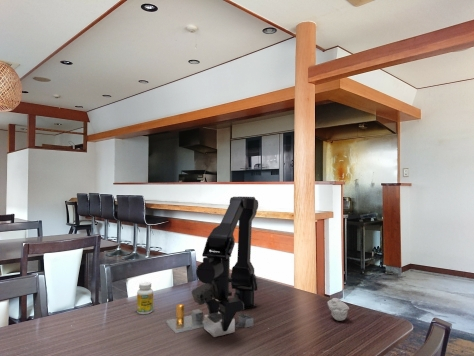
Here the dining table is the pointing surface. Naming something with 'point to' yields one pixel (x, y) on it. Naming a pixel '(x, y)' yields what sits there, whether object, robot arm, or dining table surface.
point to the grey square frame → (217, 324)
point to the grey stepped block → (245, 321)
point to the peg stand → (186, 320)
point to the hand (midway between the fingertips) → (219, 326)
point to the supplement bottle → (145, 298)
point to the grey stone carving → (338, 309)
